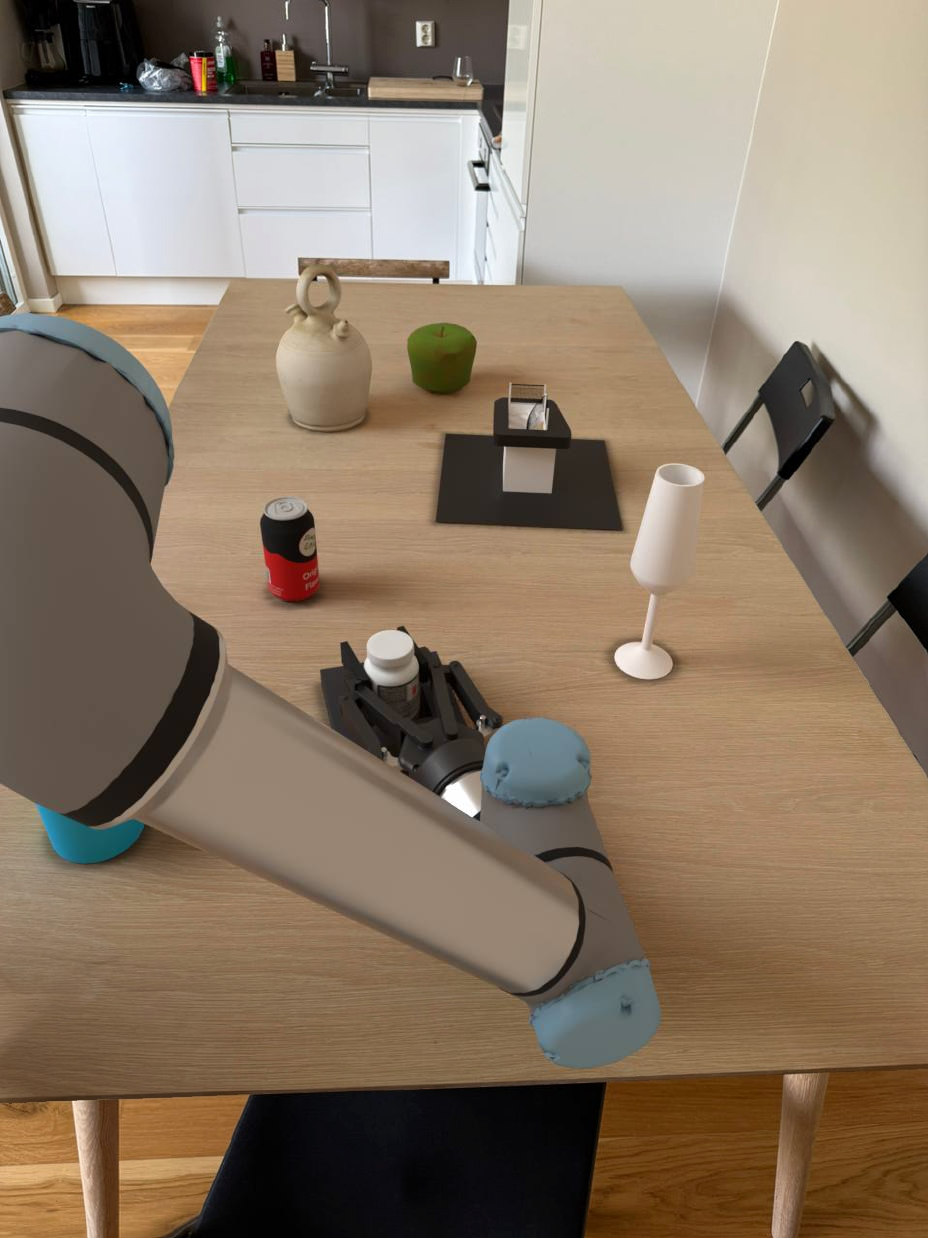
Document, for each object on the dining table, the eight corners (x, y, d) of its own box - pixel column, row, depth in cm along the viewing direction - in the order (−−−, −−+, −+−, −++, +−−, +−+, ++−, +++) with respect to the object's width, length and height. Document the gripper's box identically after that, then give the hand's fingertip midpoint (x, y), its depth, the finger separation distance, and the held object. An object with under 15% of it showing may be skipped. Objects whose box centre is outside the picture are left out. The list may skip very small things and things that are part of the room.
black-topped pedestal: (622, 530, 125) (636, 443, 117) (435, 522, 125) (436, 435, 117) (604, 440, 147) (614, 362, 139) (445, 434, 147) (447, 355, 139)
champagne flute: (610, 672, 101) (642, 485, 86) (618, 637, 106) (649, 454, 91) (670, 684, 99) (713, 496, 85) (675, 648, 104) (716, 464, 90)
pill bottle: (428, 708, 95) (429, 635, 89) (404, 742, 91) (403, 669, 85) (381, 692, 97) (379, 620, 91) (355, 725, 93) (351, 652, 87)
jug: (270, 407, 154) (253, 256, 138) (354, 392, 159) (347, 246, 144) (298, 444, 143) (284, 285, 128) (387, 427, 149) (383, 273, 133)
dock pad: (341, 772, 87) (340, 754, 86) (321, 686, 97) (319, 669, 96) (468, 748, 91) (469, 731, 89) (436, 667, 100) (436, 650, 99)
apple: (419, 370, 168) (419, 310, 161) (482, 378, 166) (484, 318, 159) (398, 396, 159) (397, 333, 152) (464, 405, 156) (466, 342, 149)
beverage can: (275, 610, 108) (264, 525, 101) (264, 581, 113) (253, 499, 105) (325, 599, 110) (318, 516, 103) (313, 572, 114) (305, 490, 107)
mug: (111, 874, 77) (89, 812, 72) (31, 850, 79) (5, 788, 74) (184, 776, 86) (170, 715, 82) (111, 756, 88) (93, 695, 83)
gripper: (371, 861, 77) (290, 694, 93) (557, 792, 83) (451, 648, 100) (367, 803, 72) (283, 639, 88) (565, 735, 79) (453, 594, 95)
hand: (372, 644), depth 94 cm, fingers closed on pill bottle, 6 cm apart
